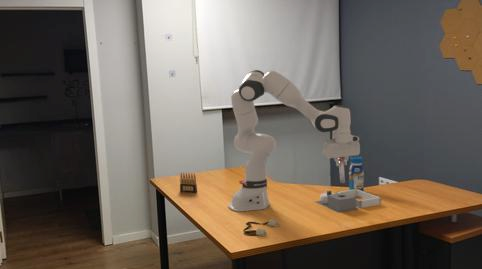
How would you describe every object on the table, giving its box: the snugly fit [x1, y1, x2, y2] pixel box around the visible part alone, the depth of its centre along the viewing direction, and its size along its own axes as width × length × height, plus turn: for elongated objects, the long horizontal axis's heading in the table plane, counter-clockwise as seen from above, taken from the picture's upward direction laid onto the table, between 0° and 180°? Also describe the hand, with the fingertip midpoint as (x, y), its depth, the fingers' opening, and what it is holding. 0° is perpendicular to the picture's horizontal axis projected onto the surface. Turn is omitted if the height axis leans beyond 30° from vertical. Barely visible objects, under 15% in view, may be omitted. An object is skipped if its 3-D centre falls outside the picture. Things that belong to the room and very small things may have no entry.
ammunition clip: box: [179, 172, 198, 194], centre depth 282 cm, size 11×2×12 cm, turn 71°
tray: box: [336, 189, 382, 209], centre depth 246 cm, size 13×20×5 cm, turn 24°
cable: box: [242, 218, 280, 237], centre depth 214 cm, size 16×16×4 cm
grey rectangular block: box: [315, 190, 359, 214], centre depth 240 cm, size 12×22×8 cm, turn 24°
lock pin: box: [338, 157, 346, 184], centre depth 233 cm, size 2×2×12 cm
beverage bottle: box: [348, 155, 365, 192], centre depth 270 cm, size 8×8×20 cm
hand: (341, 165), depth 233 cm, fingers closed on lock pin, 2 cm apart
